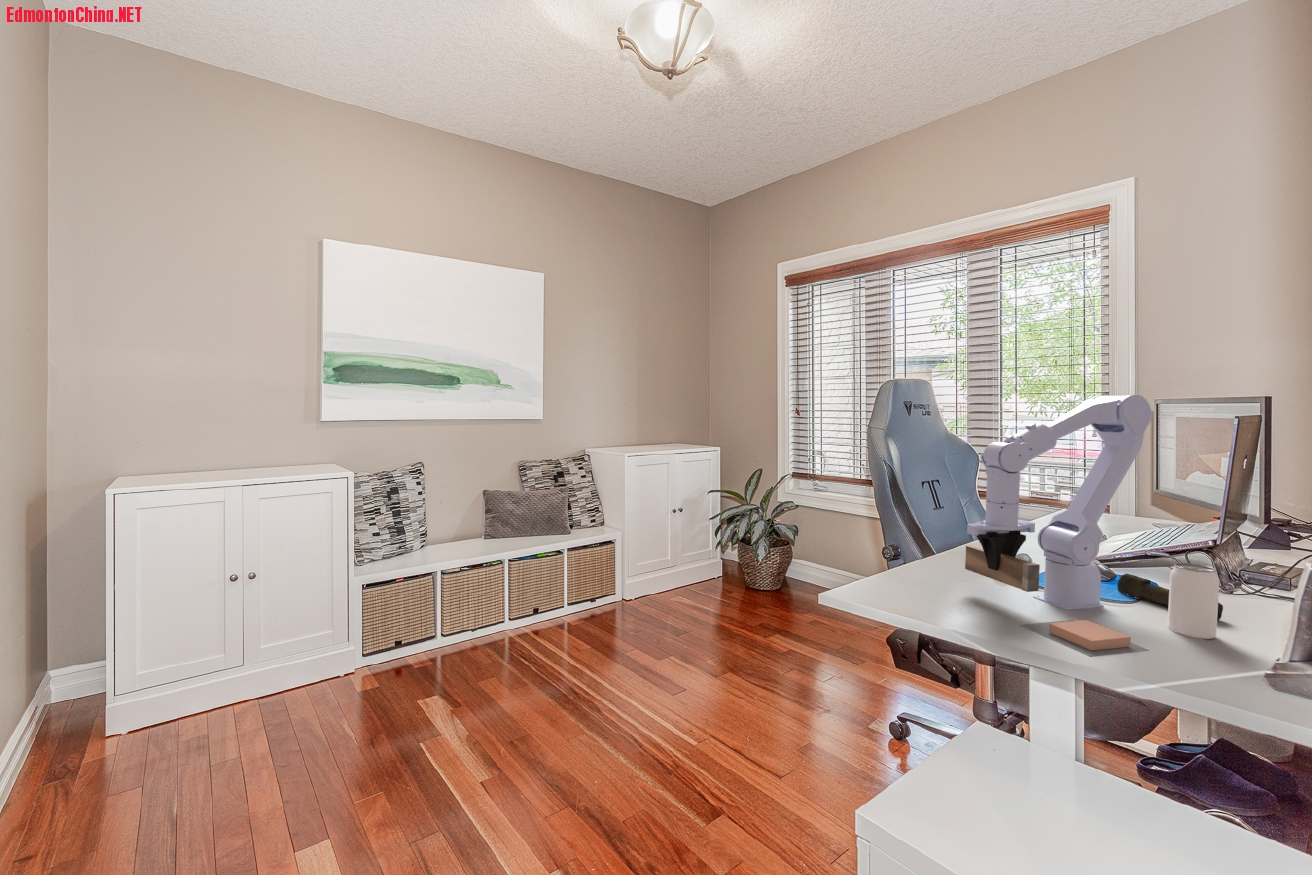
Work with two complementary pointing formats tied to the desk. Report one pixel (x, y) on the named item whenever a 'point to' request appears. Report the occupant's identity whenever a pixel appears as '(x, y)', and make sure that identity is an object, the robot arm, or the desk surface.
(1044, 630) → the mat
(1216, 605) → the can
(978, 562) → the wooden plank
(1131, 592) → the hand tool
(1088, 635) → the tile
